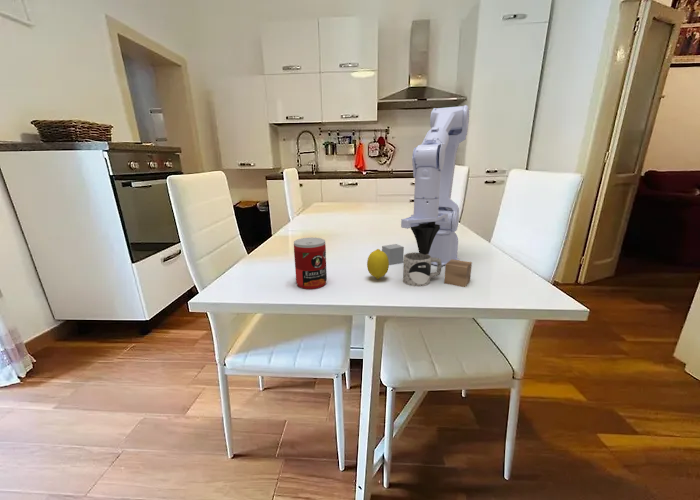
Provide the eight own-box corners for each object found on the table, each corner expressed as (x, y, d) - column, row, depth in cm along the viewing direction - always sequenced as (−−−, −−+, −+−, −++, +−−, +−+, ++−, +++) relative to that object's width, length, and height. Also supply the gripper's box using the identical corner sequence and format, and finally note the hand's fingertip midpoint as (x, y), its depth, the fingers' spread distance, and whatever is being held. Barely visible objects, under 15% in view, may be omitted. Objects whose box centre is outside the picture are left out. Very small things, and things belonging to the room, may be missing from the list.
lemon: (392, 277, 82) (392, 248, 80) (382, 284, 77) (382, 253, 75) (373, 273, 85) (374, 245, 83) (363, 280, 80) (362, 250, 78)
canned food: (304, 292, 74) (301, 246, 71) (291, 281, 80) (288, 240, 77) (332, 285, 78) (331, 242, 75) (318, 276, 84) (316, 235, 81)
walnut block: (450, 277, 82) (451, 259, 80) (470, 281, 79) (471, 262, 78) (444, 283, 78) (445, 264, 76) (465, 287, 75) (466, 267, 74)
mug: (409, 287, 75) (410, 261, 74) (399, 278, 82) (399, 253, 80) (447, 283, 77) (449, 257, 76) (434, 274, 84) (435, 250, 82)
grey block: (395, 259, 98) (396, 243, 96) (403, 262, 94) (403, 246, 93) (381, 261, 96) (382, 246, 94) (389, 265, 92) (389, 249, 91)
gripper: (432, 194, 81) (430, 245, 85) (392, 198, 73) (391, 254, 77) (456, 196, 76) (452, 250, 79) (415, 201, 68) (412, 261, 71)
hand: (423, 253), depth 78 cm, fingers closed
